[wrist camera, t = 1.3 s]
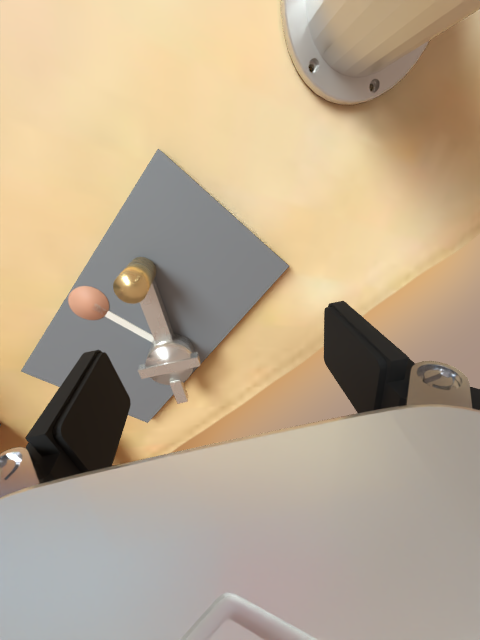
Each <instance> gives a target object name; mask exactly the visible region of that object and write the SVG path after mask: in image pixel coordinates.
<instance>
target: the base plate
mask: <svg viewBox="0 0 480 640" xmlns="http://www.w3.org/2000/svg"><path fill="white" fill-rule="evenodd" d="M137 257H145V258H148V259H149V260H151V261H152V262H153V263H154V265H155V267H156V276H155V278H154V279H155V281H156V284H157V287H158V290H159V293H160V296H161V299H162V302H163V305H164V307H165V310H166V313H167V316H168V319H169V322H170V325H171V328H172V331H173V333H177V334H181V335H183V336H185V337H186V338H188V339H189V340H190V342H191V343H192V345H193V348H194V353H195V352H198V355H199V358H200V364H201V363H202V362H203V361H204V360H205V359H206V358H207V357H208V355H209V354H210V353H211V352H212V351H213V350H214V349H215V348H216V347H217V345H218V344H219V343H220V342H221V341H222V340H223V339H224V338H225V337H226V335H227V334H228V333H229V332H230V331H231V330H232V329H233V328H234V327H235V326H236V324H237V323H238V322H239V321H240V320H241V319H242V318H243V317H244V316H245V314H246V313H247V312H248V311H249V310H250V309H251V308H252V307H253V306H254V304H255V303H256V302H257V301H258V300H259V299H260V298H261V297H262V296H263V294H264V293H265V292H266V291H267V290H268V289H269V288H270V287H271V286H272V285H273V283H274V282H275V281H276V280H277V279H278V278H279V277H280V276H281V275H282V273H283V272H284V271H285V270H286V269H287V268H288V267H289V266H288V265H287V264H286V263H285V262H284V261H283V260H282V259H281V258H280V257H278V256H277V255H276V254H275V253H274V252H273V251H272V250H271V249H270V248H268V247H267V246H266V245H265V244H264V243H263V242H262V241H261V240H260V239H258V238H257V237H256V236H255V235H254V234H253V233H252V232H251V231H250V230H248V229H247V228H246V227H245V226H244V225H243V224H242V223H241V222H240V221H238V220H237V219H236V218H235V217H234V216H233V215H232V214H231V213H230V212H228V211H227V210H226V209H225V208H224V207H223V206H222V205H221V204H219V203H218V202H217V201H216V200H215V199H214V198H213V197H212V196H211V195H209V194H208V193H207V192H206V191H205V190H204V189H203V188H202V187H201V186H199V185H198V184H197V183H196V182H195V181H194V180H193V179H192V178H191V177H189V176H188V175H187V174H186V173H185V172H184V171H183V170H182V169H181V168H179V167H178V166H177V165H176V164H175V163H174V162H173V161H172V160H171V159H169V158H168V157H167V156H166V155H165V154H164V153H163V152H162V151H160V150H159V149H158V150H157V151H156V153H155V155H154V156H153V158H152V159H151V161H150V163H149V164H148V166H147V167H146V169H145V171H144V172H143V174H142V176H141V177H140V179H139V180H138V182H137V184H136V185H135V187H134V189H133V190H132V192H131V193H130V195H129V197H128V198H127V200H126V202H125V203H124V205H123V206H122V208H121V210H120V211H119V213H118V215H117V216H116V218H115V219H114V221H113V223H112V224H111V226H110V227H109V229H108V231H107V232H106V234H105V236H104V237H103V239H102V240H101V242H100V244H99V245H98V247H97V249H96V250H95V252H94V253H93V255H92V257H91V258H90V260H89V262H88V263H87V265H86V266H85V268H84V270H83V271H82V273H81V275H80V276H79V278H78V279H77V281H76V283H75V284H74V286H73V287H72V289H71V291H70V292H69V294H68V296H67V297H66V299H65V300H64V302H63V304H62V305H61V307H60V309H59V310H58V312H57V313H56V315H55V317H54V318H53V320H52V322H51V323H50V325H49V326H48V328H47V330H46V331H45V333H44V335H43V336H42V338H41V339H40V341H39V343H38V344H37V346H36V348H35V349H34V351H33V352H32V354H31V356H30V357H29V359H28V360H27V362H26V364H25V365H24V367H23V369H22V370H21V372H24V373H26V374H29V375H31V376H34V377H36V378H38V379H41V380H43V381H46V382H48V383H51V384H53V385H56V386H58V387H60V386H61V385H62V383H63V382H64V381H65V379H66V378H67V376H68V375H69V373H70V372H71V370H72V369H73V367H74V366H75V364H76V363H77V361H78V360H79V358H80V357H81V356H82V354H83V353H85V352H90V351H95V350H101V351H102V352H105V353H107V355H108V357H109V359H110V361H111V363H112V365H113V366H114V368H115V370H116V372H117V374H118V376H119V378H120V380H121V382H122V384H123V386H124V388H125V390H126V391H127V393H128V395H129V397H130V401H131V405H130V409H129V412H128V415H130V416H132V417H135V418H137V419H140V420H142V421H145V422H147V423H148V422H149V421H150V420H151V419H152V417H153V416H154V415H155V414H156V413H157V412H158V411H159V410H160V409H161V408H162V406H163V405H164V404H165V403H166V402H167V401H168V400H169V399H170V398H171V396H172V395H173V391H172V389H171V386H170V385H164V384H160V383H158V382H156V381H154V380H153V379H151V378H150V377H149V378H144V379H141V377H140V375H139V372H138V368H139V365H140V364H145V363H146V360H147V356H148V353H149V350H150V346H151V344H152V342H153V341H154V338H153V335H152V333H151V330H150V328H149V325H148V323H147V320H146V318H145V315H144V313H143V310H142V308H141V305H140V303H135V304H130V303H126V302H123V301H122V300H120V299H119V298H118V297H117V296H116V295H115V293H114V290H113V283H114V281H115V279H116V278H117V277H118V276H119V274H120V273H121V272H122V271H123V270H124V269H125V268H126V267H127V265H128V264H129V263H130V262H131V261H132V260H133V259H134V258H137ZM198 367H199V366H198ZM198 367H194V368H193V371H192V373H193V372H194V371H195V370H196V369H197V368H198ZM185 381H186V380H185ZM185 381H183V383H184V382H185Z"/></svg>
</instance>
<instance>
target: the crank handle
mask: <svg viewBox="0 0 480 640" xmlns="http://www.w3.org/2000/svg"><path fill="white" fill-rule="evenodd" d="M155 276H156V267H155V265H154V263H153V262H152V261H151V260H149V259H148V258H145V257H137V258H134V259H133V260H132V261H131V262H130V263H129V264H128V265H127V267H126V268H125V269H124V270H123V271H122V272H121V273H120V274H119V276H118V277H117V278H116V279H115V281H114V283H113V290H114V293H115V295H116V296H117V297H118V298H119V299H120V300H122V301H123V302H126V303H130V304H135V303H140V305H141V308H142V310H143V313H144V315H145V318H146V320H147V323H148V325H149V328H150V330H151V333H152V335H153V338H154V341H153V342H152V344H151V346H150V350H149V353H148V356H147V360H146V363H145V364H140V365H139V368H138V372H139V375H140V377H141V379H144V378H149V377H150V378H151V379H153V380H154V381H156V382H158V383H160V384H164V385H170V386H171V389H172V391H173V394H174V396H175V399H176V401H177V404H178V403H183V402H187V401H188V394H187V391H186V388H185V385H184V383H183V381H185V380H187V379H188V378H189V377H190V375H191V374H192V371H193V368H194V367H198V366H200V358H199V355H198V352H195V353H194V348H193V345H192V343H191V342H190V340H189V339H188V338H186V337H185V336H183V335H181V334H177V333H173V331H172V328H171V325H170V322H169V319H168V316H167V313H166V310H165V307H164V305H163V302H162V299H161V296H160V293H159V290H158V287H157V284H156V281H155V279H154V278H155Z"/></svg>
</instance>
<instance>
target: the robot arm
mask: <svg viewBox="0 0 480 640" xmlns="http://www.w3.org/2000/svg"><path fill="white" fill-rule="evenodd" d="M479 9H480V0H281V15H282V23H283V32H284V36H285V40H286V44H287V48H288V52H289V54H290V56H291V59H292V61H293V63H294V66H295V68H296V70H297V71H298V73H299V74H300V76H301V77H302V79H303V81H304V82H305V83H306V84H307V85H308V86H309V87H310V88H311V89H312V90H313V91H314V92H315V93H316V94H317V95H319V96H321V97H322V98H324V99H326V100H327V101H330V102H334V103H337V104H344V105H354V104H358V103H363V102H367V101H369V100H371V99H373V98H376V97H378V96H379V95H381V94H383V93H384V92H386V91H388V90H389V89H391V88H392V87H393V86H395V85H396V84H397V83H398V82H399V81H400V80H401V79H403V78H404V77H405V76H406V74H407V73H408V72H409V71H410V70H411V68H412V67H413V66H414V65H415V64H416V62H417V61H418V59H419V58H420V56H421V54H422V53H423V51H424V50H425V48H426V46H427V45H428V43H429V40H431V39H432V38H434V37H436V36H437V35H439V34H440V33H442V32H444V31H445V30H447V29H448V28H450V27H452V26H453V25H455V24H457V23H458V22H460V21H461V20H463V19H465V18H466V17H468V16H469V15H471V14H473V13H474V12H476V11H477V10H479ZM309 66H311V67H312V73H311V72H310V71H309V68H308V67H309ZM369 87H370V88H371V90H370V88H369ZM324 361H325V364H326V365H327V367H328V369H329V370H330V372H331V373H332V375H333V376H334V378H335V379H336V381H337V382H338V384H339V385H340V387H341V388H342V390H343V391H344V392H345V394H346V396H347V397H348V399H349V400H350V402H351V403H352V405H353V406H354V408H355V409H356V411H357V412H358V413H357V414H352V415H347V416H343V417H337V418H332V419H327V420H322V421H318V422H313V423H308V424H304V425H299V426H295V427H290V428H284V429H280V430H275V431H271V432H266V433H261V434H256V435H252V436H247V437H242V438H238V439H233V440H229V441H224V442H219V443H215V444H210V445H205V446H201V447H196V448H192V449H187V450H183V451H178V452H173V453H169V454H164V455H160V456H156V457H151V458H147V459H142V460H138V461H133V462H129V463H124V464H120V465H115V466H112V463H113V460H114V457H115V454H116V450H117V447H118V444H119V441H120V438H121V435H122V431H123V428H124V425H125V422H126V419H127V415H128V412H129V409H130V405H131V401H130V397H129V395H128V393H127V391H126V390H125V388H124V386H123V384H122V382H121V380H120V378H119V376H118V374H117V372H116V370H115V368H114V366H113V365H112V363H111V361H110V359H109V357H108V355H107V353H105V352H102V351H101V350H95V351H90V352H85V353H83V354H82V356H81V357H80V358H79V360H78V361H77V363H76V364H75V366H74V367H73V369H72V370H71V372H70V373H69V375H68V376H67V378H66V379H65V381H64V382H63V383H62V385H61V386H60V388H59V389H58V391H57V392H56V394H55V395H54V397H53V398H52V400H51V401H50V403H49V404H48V406H47V407H46V408H45V410H44V411H43V413H42V414H41V416H40V417H39V419H38V420H37V422H36V423H35V425H34V426H33V428H32V429H31V431H30V432H29V434H28V435H27V436H26V438H25V439H26V440H27V441H28V442H29V443H28V445H27V446H26V448H23V447H17V448H12V449H9V450H7V451H4V452H2V453H1V454H0V640H480V389H476V388H473V387H470V385H469V381H468V379H467V377H466V376H465V375H464V374H463V373H462V372H460V371H459V370H457V369H456V368H454V367H452V366H450V365H447V364H443V363H440V362H434V361H423V362H419V363H416V364H415V363H414V362H413V361H411V360H410V359H409V357H407V355H406V354H404V353H403V352H402V351H401V350H400V349H399V348H397V347H396V346H395V345H394V344H393V343H392V342H391V341H389V340H388V339H387V338H386V337H384V335H382V334H381V333H380V332H379V331H378V330H377V329H375V328H374V327H373V326H372V325H371V324H370V323H369V322H367V321H366V320H365V319H364V318H363V317H362V316H361V315H359V314H358V313H357V312H356V311H355V310H354V309H352V308H351V307H350V306H349V305H348V304H347V303H346V302H344V301H340V302H335V303H330V304H329V306H328V307H327V308H325V314H324Z"/></svg>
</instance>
